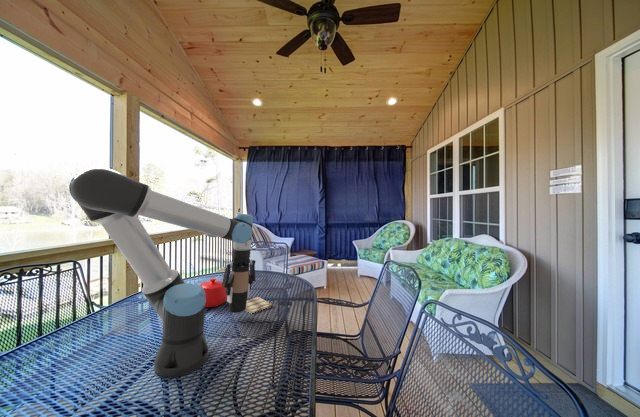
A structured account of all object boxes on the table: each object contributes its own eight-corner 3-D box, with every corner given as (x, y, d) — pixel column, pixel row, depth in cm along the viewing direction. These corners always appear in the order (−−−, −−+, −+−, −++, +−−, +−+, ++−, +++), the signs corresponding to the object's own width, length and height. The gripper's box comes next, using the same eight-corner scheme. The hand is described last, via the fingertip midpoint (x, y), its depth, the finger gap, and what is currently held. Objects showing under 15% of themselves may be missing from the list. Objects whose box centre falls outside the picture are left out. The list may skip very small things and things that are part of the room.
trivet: (251, 314, 109) (251, 311, 109) (237, 305, 117) (238, 302, 117) (272, 306, 118) (272, 303, 118) (258, 299, 126) (258, 296, 126)
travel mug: (235, 314, 99) (239, 267, 99) (224, 309, 103) (227, 264, 103) (250, 308, 106) (253, 264, 106) (238, 303, 110) (241, 261, 110)
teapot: (190, 315, 105) (191, 288, 104) (181, 303, 116) (182, 278, 116) (243, 302, 121) (245, 278, 121) (231, 292, 133) (232, 270, 133)
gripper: (223, 252, 94) (219, 309, 94) (266, 248, 109) (262, 296, 110) (215, 249, 99) (211, 302, 99) (256, 245, 114) (253, 291, 115)
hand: (238, 299), depth 105 cm, fingers closed on travel mug, 8 cm apart
